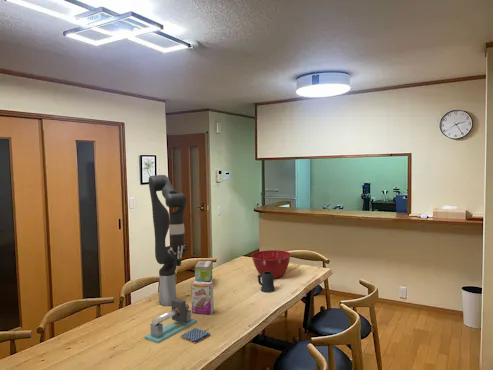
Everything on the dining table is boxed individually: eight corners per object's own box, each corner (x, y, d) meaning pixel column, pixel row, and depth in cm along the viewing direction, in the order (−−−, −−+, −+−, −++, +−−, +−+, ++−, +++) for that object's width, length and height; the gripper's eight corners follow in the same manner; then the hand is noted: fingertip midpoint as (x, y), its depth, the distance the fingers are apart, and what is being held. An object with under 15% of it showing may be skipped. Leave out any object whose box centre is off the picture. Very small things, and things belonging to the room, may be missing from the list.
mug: (278, 289, 230) (277, 272, 229) (269, 293, 223) (268, 275, 223) (263, 285, 238) (263, 269, 237) (254, 289, 231) (253, 272, 231)
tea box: (210, 288, 236) (209, 266, 235) (194, 289, 236) (194, 266, 235) (212, 281, 251) (212, 260, 250) (198, 281, 251) (197, 260, 250)
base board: (157, 343, 164) (157, 340, 164) (144, 338, 169) (144, 336, 169) (196, 322, 185) (196, 319, 185) (184, 318, 190) (184, 316, 190)
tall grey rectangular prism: (182, 322, 178) (181, 302, 177) (172, 319, 182) (171, 300, 181) (186, 320, 180) (185, 300, 180) (176, 317, 184) (175, 298, 184)
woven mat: (195, 330, 177) (195, 326, 177) (211, 336, 170) (211, 332, 170) (179, 339, 169) (179, 334, 168) (195, 345, 162) (195, 341, 162)
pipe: (158, 338, 167) (157, 320, 166) (150, 335, 169) (150, 317, 169) (191, 320, 185) (190, 304, 184) (184, 318, 187) (183, 302, 187)
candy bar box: (191, 313, 196) (190, 283, 196) (195, 309, 201) (194, 280, 200) (211, 315, 193) (209, 284, 193) (214, 311, 198) (213, 282, 197)
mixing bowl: (247, 280, 250) (246, 258, 249) (257, 269, 277) (257, 249, 276) (287, 283, 242) (286, 260, 241) (294, 271, 269) (294, 250, 268)
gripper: (181, 229, 193) (182, 261, 194) (162, 234, 182) (163, 267, 183) (191, 230, 188) (192, 263, 189) (172, 235, 177) (174, 270, 178)
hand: (178, 265), depth 186 cm, fingers closed
